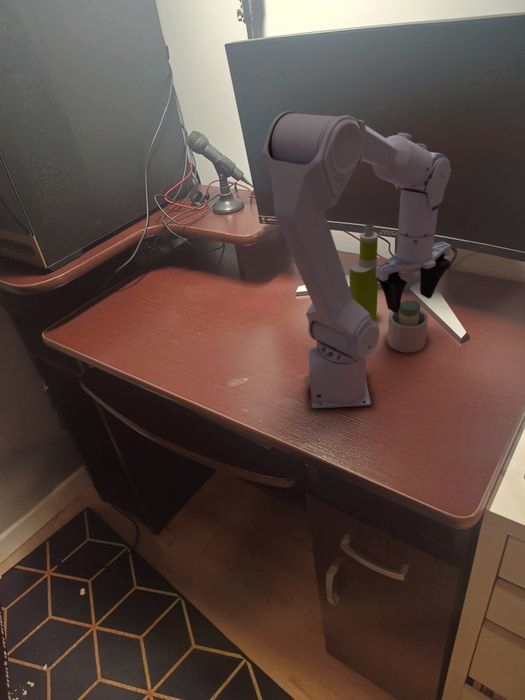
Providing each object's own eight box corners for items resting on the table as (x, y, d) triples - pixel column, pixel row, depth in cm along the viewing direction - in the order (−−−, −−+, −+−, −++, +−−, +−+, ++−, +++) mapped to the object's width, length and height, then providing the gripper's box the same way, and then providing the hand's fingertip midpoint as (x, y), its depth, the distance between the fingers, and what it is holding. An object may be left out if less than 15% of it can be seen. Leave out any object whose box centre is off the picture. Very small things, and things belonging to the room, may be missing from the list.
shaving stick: (402, 346, 85) (405, 311, 81) (393, 335, 88) (396, 302, 84) (419, 342, 86) (423, 307, 81) (411, 332, 88) (414, 298, 84)
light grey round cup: (391, 353, 85) (392, 329, 82) (384, 332, 90) (386, 308, 87) (429, 351, 84) (432, 326, 81) (420, 330, 90) (423, 306, 86)
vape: (379, 318, 94) (384, 224, 83) (360, 330, 92) (362, 235, 80) (365, 311, 97) (368, 220, 85) (346, 323, 94) (346, 230, 82)
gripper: (398, 251, 69) (393, 326, 77) (469, 225, 74) (457, 298, 82) (368, 237, 74) (366, 309, 82) (436, 213, 79) (427, 283, 87)
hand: (409, 302), depth 82 cm, fingers open, 7 cm apart
